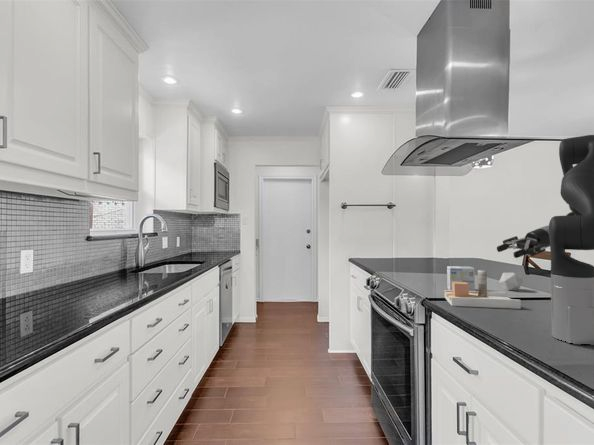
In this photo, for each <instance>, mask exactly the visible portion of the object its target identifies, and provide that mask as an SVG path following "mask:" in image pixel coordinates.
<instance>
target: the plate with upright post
mask: <svg viewBox="0 0 594 445" xmlns="http://www.w3.org/2000/svg"><path fill="white" fill-rule="evenodd" d="M487 275H488V273H487V270H486V269H478V270H477V291H478V293H469V297H464V298H489V297H487V291H488V280H487V279H488V276H487ZM445 295H446V296H447V297H448V298H449V299H450V300H451V297H455V296H454V295H453V294H452V292H445V291H444V296H445Z"/></svg>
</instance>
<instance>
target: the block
mask: <svg viewBox="0 0 594 445" xmlns="http://www.w3.org/2000/svg"><path fill="white" fill-rule="evenodd" d="M452 294H453V295H454V296H455V297H469V284H468V283H466V282H454V281H452Z"/></svg>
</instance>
